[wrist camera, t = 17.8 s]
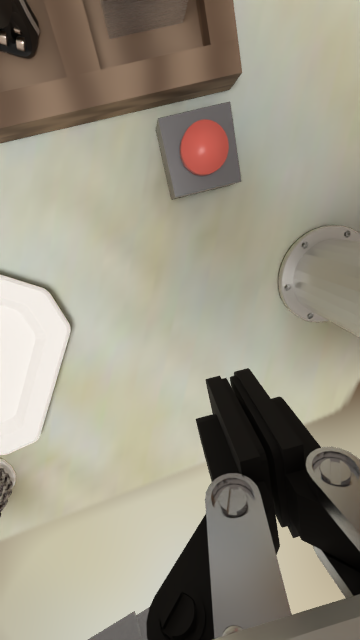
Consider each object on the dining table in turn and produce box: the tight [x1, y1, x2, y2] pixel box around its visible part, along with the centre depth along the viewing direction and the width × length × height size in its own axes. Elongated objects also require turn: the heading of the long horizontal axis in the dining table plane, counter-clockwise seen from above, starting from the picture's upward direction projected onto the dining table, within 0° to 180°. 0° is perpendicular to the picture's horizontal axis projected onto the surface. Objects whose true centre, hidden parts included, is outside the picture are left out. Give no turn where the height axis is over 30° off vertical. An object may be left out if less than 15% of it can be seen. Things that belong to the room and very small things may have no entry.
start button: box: [180, 119, 229, 176], centre depth 28 cm, size 4×4×2 cm
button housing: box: [156, 102, 241, 199], centre depth 31 cm, size 7×7×4 cm
